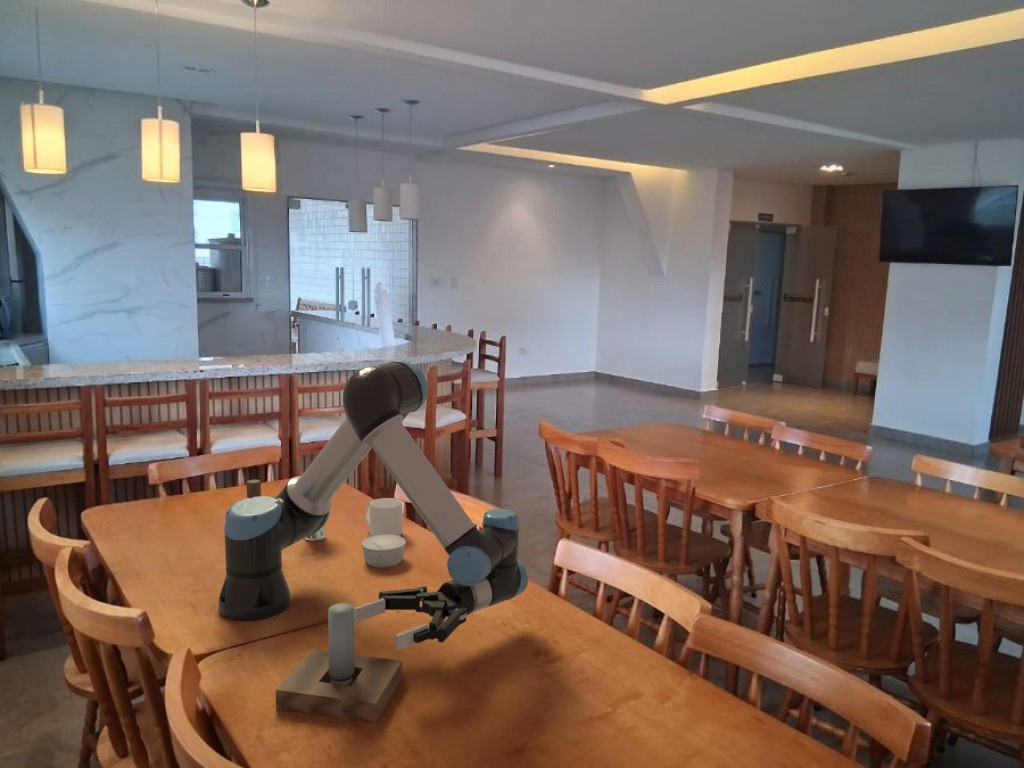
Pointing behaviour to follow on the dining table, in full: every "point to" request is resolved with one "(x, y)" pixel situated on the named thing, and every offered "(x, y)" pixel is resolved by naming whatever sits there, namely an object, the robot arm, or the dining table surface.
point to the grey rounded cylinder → (341, 643)
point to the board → (340, 687)
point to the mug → (384, 517)
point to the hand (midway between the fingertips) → (374, 628)
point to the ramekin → (383, 550)
